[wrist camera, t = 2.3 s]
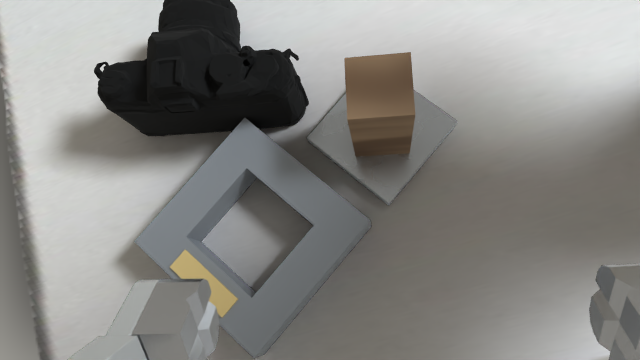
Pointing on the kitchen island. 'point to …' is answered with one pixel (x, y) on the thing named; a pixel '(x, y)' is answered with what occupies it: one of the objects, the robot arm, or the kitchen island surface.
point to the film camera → (202, 76)
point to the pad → (383, 170)
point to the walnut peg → (380, 103)
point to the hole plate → (213, 203)
